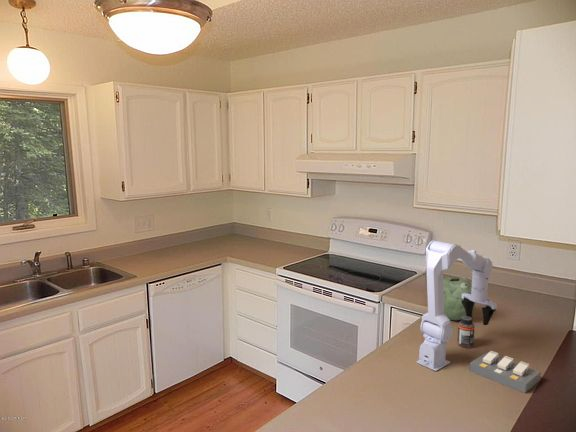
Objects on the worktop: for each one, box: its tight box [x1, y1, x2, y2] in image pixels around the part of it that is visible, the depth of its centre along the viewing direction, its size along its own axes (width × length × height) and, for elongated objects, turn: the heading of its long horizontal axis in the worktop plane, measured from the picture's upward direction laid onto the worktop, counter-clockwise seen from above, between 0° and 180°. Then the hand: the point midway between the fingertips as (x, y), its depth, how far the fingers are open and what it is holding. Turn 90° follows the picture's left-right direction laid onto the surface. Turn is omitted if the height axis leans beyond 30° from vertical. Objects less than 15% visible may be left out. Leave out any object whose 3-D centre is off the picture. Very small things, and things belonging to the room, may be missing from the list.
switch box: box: [469, 351, 542, 394], centre depth 141 cm, size 12×18×5 cm, turn 39°
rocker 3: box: [513, 360, 530, 376], centre depth 137 cm, size 6×3×1 cm, turn 129°
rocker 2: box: [497, 355, 515, 370], centre depth 141 cm, size 6×3×1 cm, turn 129°
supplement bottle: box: [457, 316, 476, 349], centre depth 163 cm, size 6×6×11 cm
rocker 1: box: [483, 350, 500, 364], centre depth 145 cm, size 6×3×1 cm, turn 129°
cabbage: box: [443, 276, 476, 321], centre depth 189 cm, size 16×19×20 cm
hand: (477, 321), depth 163 cm, fingers open, 7 cm apart
